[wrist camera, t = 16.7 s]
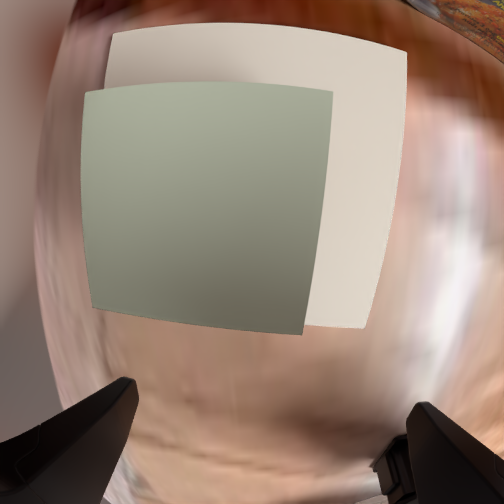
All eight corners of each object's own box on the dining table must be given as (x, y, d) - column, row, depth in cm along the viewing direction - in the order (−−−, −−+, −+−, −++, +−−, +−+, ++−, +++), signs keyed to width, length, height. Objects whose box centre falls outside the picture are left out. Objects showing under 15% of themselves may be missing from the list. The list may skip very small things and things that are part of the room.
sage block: (303, 120, 8) (333, 91, 4) (289, 257, 10) (301, 335, 6) (162, 113, 9) (85, 92, 4) (158, 245, 10) (92, 307, 6)
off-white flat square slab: (399, 56, 12) (408, 51, 11) (360, 319, 18) (365, 330, 16) (120, 38, 13) (111, 32, 12) (111, 291, 18) (103, 299, 17)
